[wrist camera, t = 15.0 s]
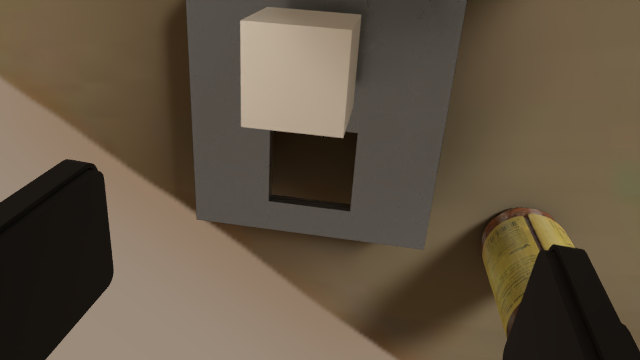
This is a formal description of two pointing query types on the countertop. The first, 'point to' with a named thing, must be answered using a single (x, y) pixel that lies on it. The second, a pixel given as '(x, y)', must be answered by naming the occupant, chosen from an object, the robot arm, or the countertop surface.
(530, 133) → the countertop surface
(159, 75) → the countertop surface
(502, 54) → the countertop surface
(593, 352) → the robot arm
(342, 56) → the peg
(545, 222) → the sauce bottle
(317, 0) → the slotted grey box
